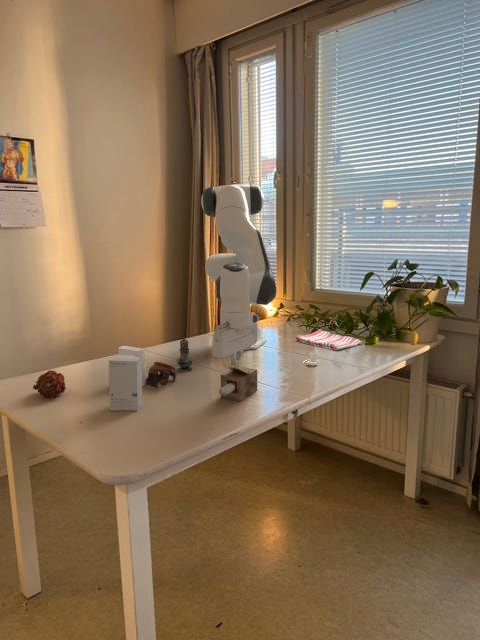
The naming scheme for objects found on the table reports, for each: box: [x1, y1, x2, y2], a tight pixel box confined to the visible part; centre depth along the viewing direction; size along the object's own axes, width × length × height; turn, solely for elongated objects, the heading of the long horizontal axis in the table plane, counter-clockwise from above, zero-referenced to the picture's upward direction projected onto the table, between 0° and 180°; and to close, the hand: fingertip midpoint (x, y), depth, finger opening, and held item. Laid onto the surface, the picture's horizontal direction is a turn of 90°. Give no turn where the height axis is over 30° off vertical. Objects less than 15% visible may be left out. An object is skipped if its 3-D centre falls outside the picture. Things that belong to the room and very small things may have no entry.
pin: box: [218, 381, 237, 397], centre depth 142 cm, size 16×4×4 cm, turn 149°
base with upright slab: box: [117, 345, 148, 387], centre depth 153 cm, size 9×9×12 cm
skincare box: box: [108, 354, 143, 412], centre depth 134 cm, size 8×6×15 cm
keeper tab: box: [221, 363, 249, 374], centre depth 140 cm, size 7×6×1 cm
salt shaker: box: [176, 336, 194, 373], centre depth 168 cm, size 6×6×12 cm
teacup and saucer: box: [302, 351, 319, 367], centre depth 175 cm, size 9×8×4 cm
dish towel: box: [295, 328, 362, 351], centre depth 204 cm, size 17×23×4 cm
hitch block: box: [220, 366, 258, 402], centre depth 144 cm, size 10×7×7 cm
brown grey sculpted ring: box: [145, 361, 177, 389], centre depth 154 cm, size 12×10×8 cm
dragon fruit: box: [32, 370, 67, 399], centre depth 144 cm, size 8×8×12 cm
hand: (235, 365), depth 140 cm, fingers closed
